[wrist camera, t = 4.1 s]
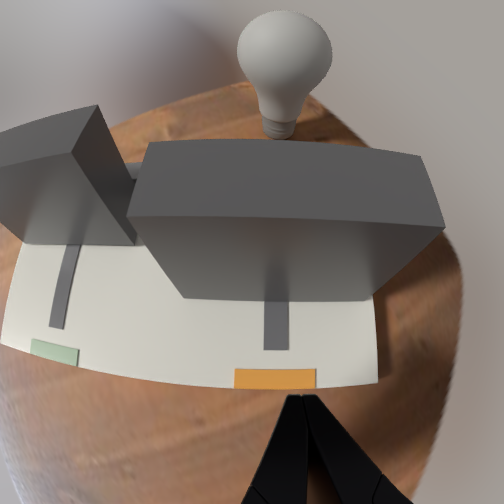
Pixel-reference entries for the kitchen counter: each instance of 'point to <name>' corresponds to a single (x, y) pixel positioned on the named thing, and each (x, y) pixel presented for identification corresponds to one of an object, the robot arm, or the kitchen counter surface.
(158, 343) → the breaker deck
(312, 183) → the block
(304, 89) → the lightbulb
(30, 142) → the block
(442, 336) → the kitchen counter surface
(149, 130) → the kitchen counter surface
